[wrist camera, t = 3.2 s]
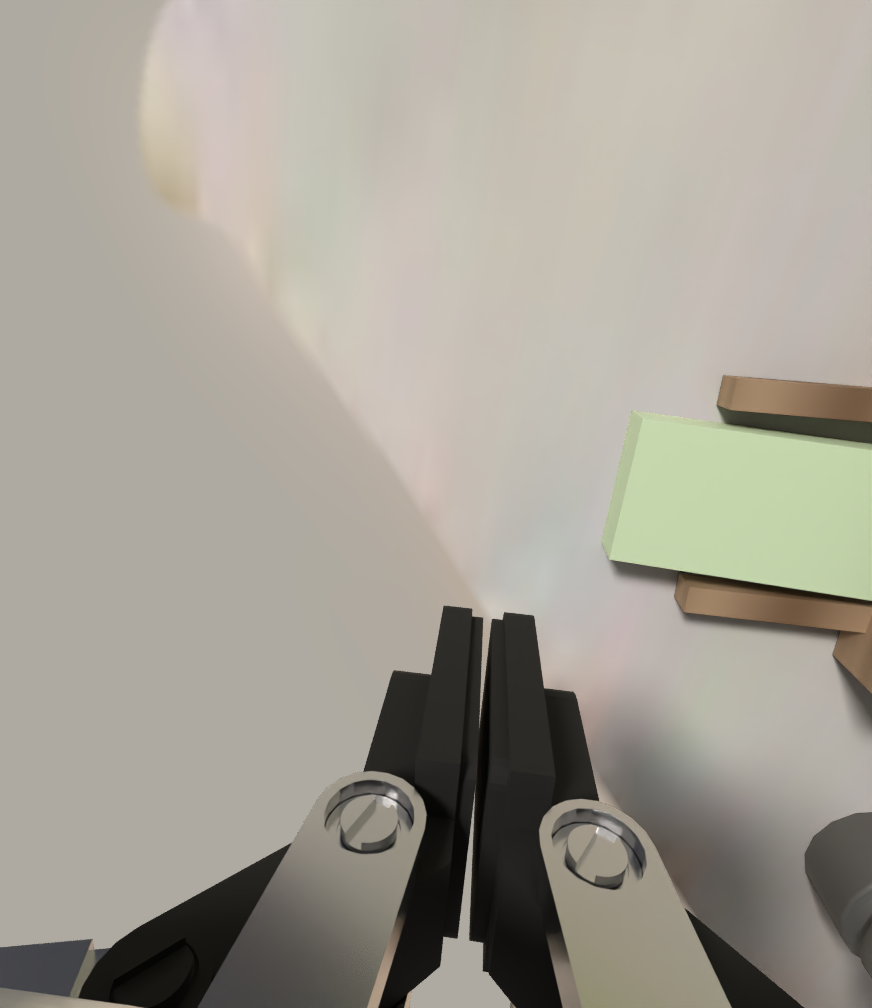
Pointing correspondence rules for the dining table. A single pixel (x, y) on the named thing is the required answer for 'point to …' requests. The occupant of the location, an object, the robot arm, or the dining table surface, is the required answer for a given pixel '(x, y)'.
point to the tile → (744, 504)
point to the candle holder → (846, 879)
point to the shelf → (863, 623)
